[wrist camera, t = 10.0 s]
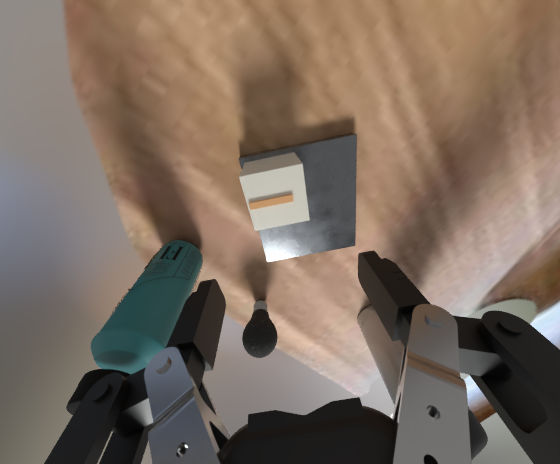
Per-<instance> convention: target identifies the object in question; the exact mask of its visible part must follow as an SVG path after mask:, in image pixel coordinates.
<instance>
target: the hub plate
mask: <svg viewBox="0 0 560 464" xmlns="http://www.w3.org/2000/svg"><path fill="white" fill-rule="evenodd" d="M356 149H357V134H353V133H350V134H346V135H341V136H336V137H331V138H326V139H321V140H317V141H312V142H307V143H302V144H297V145H293V146H288V147H283V148H278V149H273V150H268V151H264V152H259V153H254V154H249V155H244V156H240V157H239V161H240V165H241V169H242V168H243V166H244V163H245V162H250V161H255V160H260V159H264V158H269V157H274V156H278V155H283V154H288V153H293V152H294V153H295V154H296V155H297V157H298V158H299V159H300V161H301V162H302V164H303V171H304V179H305V187H306V195H307V203H308V211H309V218H310V220H309V221H304V222H299V223H294V224H289V225H283V226H278V227H273V228H268V229H263V230H259V233H260V237H261V240H262V244H263V248H264V251H265V255H266V258H267V262H270V261H276V260H281V259H287V258H292V257H297V256H303V255H308V254H313V253H319V252H324V251H329V250H335V249H340V248H346V247H351V246H355V223H356Z"/></svg>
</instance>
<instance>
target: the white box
mask: <svg viewBox="0 0 560 464" xmlns="http://www.w3.org/2000/svg"><path fill="white" fill-rule="evenodd" d="M239 178H240V182H241V185H242V188H243V192H244V195H245V199H246V202H247V205H248V209H249V212H250V215H251V219H252V222H253V226H254V229H255V231H258V230H263V229H268V228H273V227H278V226H283V225H289V224H294V223H299V222H304V221H309V220H310V218H309V211H308V203H307V195H306V187H305V179H304V171H303V164H302V162H301V161H300V159H299V158H298V157H297V155H296V154H295V153H294V152H293V153H288V154H283V155H278V156H274V157H269V158H264V159H260V160H255V161H250V162H245V163H244V166H243V168H242V171H241V173H240V176H239Z"/></svg>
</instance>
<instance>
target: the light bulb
mask: <svg viewBox="0 0 560 464" xmlns="http://www.w3.org/2000/svg"><path fill="white" fill-rule="evenodd" d="M242 340H243V345H244V347H245V349H246V351H247V352H248V353H249V354H250V355H251V356H253V357H257V358H262V357H265V356H267V355H269V354H270V353H271V352H272V351H273V350H274V348H275V346H276V343H277V331H276V328H275V326H274V324H273V323H272V321H271V320H270V318H269V315H268V312H267V303H266V302H265V301H262V300H259V301H257V302H256V303H255V304H254V312H253V314H252V318H251V320H250V321H249V322H248V324H247V325H246V327H245V329H244V332H243V338H242Z"/></svg>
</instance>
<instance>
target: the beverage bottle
mask: <svg viewBox="0 0 560 464" xmlns="http://www.w3.org/2000/svg"><path fill="white" fill-rule="evenodd" d="M156 253H157V252H156ZM153 257H154V258H152V259H153V260H152V259H151V260H150V262H149V263H148V265H147V266H146V267H145V271H144V272H143V273H142V274H141V276H140V277H139V278H138V280H137V281H136V283H135V284H134V285H133V287H132V288H131V289H130V290H129V292H128V293H127V294H126V296H125V297H124V299H123V300H122V301H121V303H120V304H119V305H118V306H117V308H116V309H115V311H114V313H113V314H112V315H111V317H110V318H109V320H108V321H107V322H106V324H105V325H104V327H103V328H102V329H101V330H100V332H99V333H98V334H97V335H96V336H95V337H94V338H93V340H92V342H91V351H92V354H93V358H94V360H95V362H96V364H97V365H98V366H99V367H100V368H102V369H98V370H93V371H90V372H88V373H86V374H85V375H84V376H83V378H82V380H81V381H80V382H79V384H78V387H77V389H76V391H75V392H74V394H73V395H72V397H71V399H70V400H69V402H68V405H67V407H66V408H67V411H68V412H69V413H70V414H72V415H74V413H75V411H76V410H77V408H78V406H79V405H80V403H81V401H82V400H83V398H84V396H85V395H86V393H87V392H88V391H89V389H90V388H91V387H92V386H93V385H94V384H95V383H96V382H98V381H99V380H100V379H101V378H103V377H105V376H106V375H108V374H111V373H120V374H121V375H122V376H124V377H127V376H129V375H131V374H133V373H135V372H137V371H139V370H141V369H143V368H145V367H146V366H147V365H148V363H149V361H150V360H151V359H152V358H153V357H154V356H155V355H156V354H157V353H158V352H160V351H161V350H163V349H165V348H166V346H167V343H168V341H169V339H170V336H171V334H172V332H173V329H174V327H175V325H176V322H177V320H178V318H179V315H180V313H181V311H182V308H183V306H184V304H185V301H186V300H187V299H188V297H189V296H190V293H191V291H193V290H192V288H194V287H193V286H195V285H194V283H195V281H196V278H197V276H198V273H199V271H200V269H202V268H201V266H202V262H203V259H202V254H201V252H200V251H199V249H198V248H197V247H196V246H194V245H193V244H191V243H189V242H186V241H181V240H175V241H171V242H169V243H167V244H165V245H164V246H163V245H162V248H161V249H160V250H159V252H158V253H157V254H156V255H154V256H153ZM200 272H201V271H200ZM198 277H199V276H198ZM197 279H198V278H197Z"/></svg>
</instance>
